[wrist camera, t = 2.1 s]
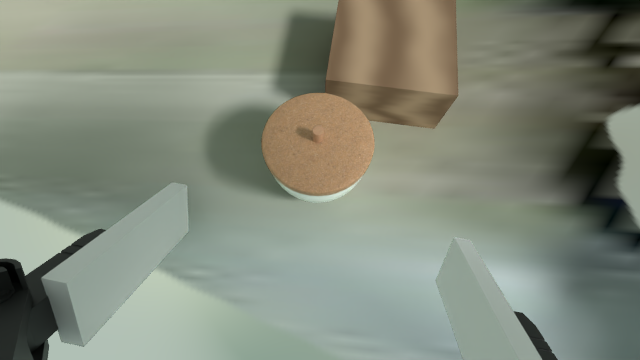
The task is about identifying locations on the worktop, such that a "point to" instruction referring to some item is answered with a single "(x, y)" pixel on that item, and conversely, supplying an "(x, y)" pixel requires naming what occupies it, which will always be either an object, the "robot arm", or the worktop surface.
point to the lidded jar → (317, 146)
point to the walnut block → (395, 59)
